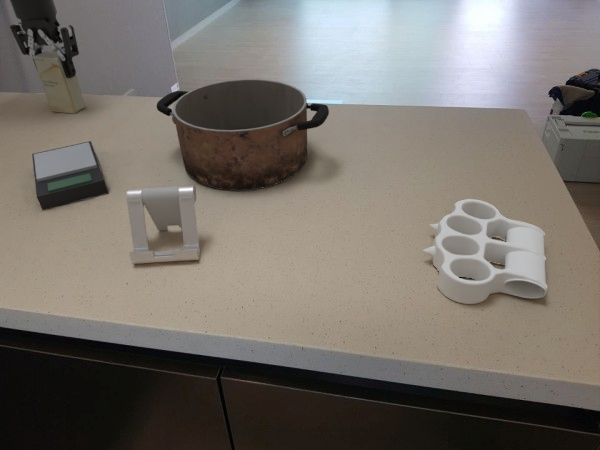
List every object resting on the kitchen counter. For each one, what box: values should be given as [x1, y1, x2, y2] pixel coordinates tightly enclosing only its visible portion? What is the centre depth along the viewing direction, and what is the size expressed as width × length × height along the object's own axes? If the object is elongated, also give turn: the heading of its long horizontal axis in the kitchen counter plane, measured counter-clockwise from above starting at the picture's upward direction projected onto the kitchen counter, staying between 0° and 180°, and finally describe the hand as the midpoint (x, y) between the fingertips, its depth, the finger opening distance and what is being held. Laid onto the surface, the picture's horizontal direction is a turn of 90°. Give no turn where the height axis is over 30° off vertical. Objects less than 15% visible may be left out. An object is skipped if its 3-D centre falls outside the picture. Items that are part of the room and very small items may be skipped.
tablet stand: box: [125, 185, 201, 265], centre depth 61 cm, size 9×8×8 cm
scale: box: [31, 140, 109, 211], centre depth 78 cm, size 16×10×3 cm, turn 28°
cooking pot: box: [156, 78, 330, 191], centre depth 80 cm, size 30×22×11 cm
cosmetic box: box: [32, 50, 86, 115], centre depth 100 cm, size 6×4×12 cm
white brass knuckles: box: [421, 198, 549, 305], centre depth 59 cm, size 3×18×15 cm
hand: (58, 75), depth 99 cm, fingers closed on cosmetic box, 6 cm apart
